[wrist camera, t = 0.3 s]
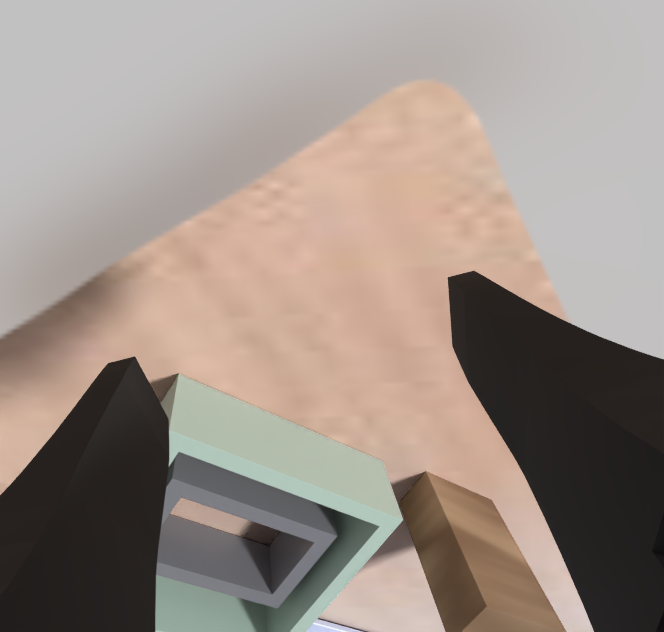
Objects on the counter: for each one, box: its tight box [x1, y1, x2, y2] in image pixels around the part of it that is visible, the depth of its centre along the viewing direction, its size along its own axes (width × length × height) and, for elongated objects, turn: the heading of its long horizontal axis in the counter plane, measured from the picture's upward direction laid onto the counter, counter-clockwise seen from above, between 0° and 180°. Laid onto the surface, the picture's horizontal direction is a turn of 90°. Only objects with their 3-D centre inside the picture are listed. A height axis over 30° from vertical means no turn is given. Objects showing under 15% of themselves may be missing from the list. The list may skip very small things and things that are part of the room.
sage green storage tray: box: [155, 374, 403, 632], centre depth 26 cm, size 12×12×4 cm
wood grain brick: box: [399, 472, 566, 632], centre depth 27 cm, size 2×5×8 cm, turn 56°
